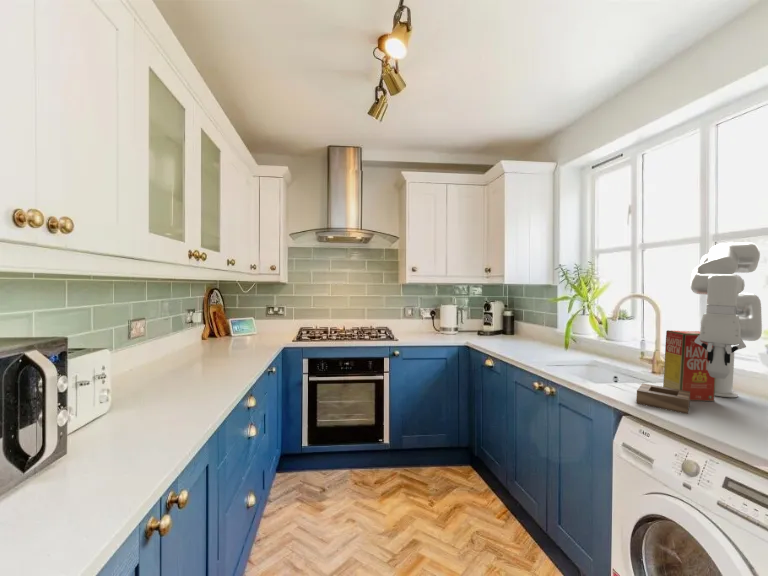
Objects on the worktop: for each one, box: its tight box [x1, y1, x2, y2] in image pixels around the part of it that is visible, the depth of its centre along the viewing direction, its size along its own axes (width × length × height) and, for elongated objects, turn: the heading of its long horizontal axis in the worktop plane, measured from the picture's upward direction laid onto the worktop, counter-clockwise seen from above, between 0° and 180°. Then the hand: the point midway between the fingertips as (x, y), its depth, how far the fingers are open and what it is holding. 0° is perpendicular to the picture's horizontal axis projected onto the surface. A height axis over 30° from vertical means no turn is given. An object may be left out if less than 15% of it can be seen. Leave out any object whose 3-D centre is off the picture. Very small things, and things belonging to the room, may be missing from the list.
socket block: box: [635, 383, 691, 415], centre depth 131 cm, size 14×14×5 cm
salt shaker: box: [707, 343, 730, 379], centre depth 127 cm, size 6×6×13 cm
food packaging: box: [662, 330, 715, 402], centre depth 140 cm, size 13×9×25 cm
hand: (718, 363), depth 127 cm, fingers closed on salt shaker, 3 cm apart
